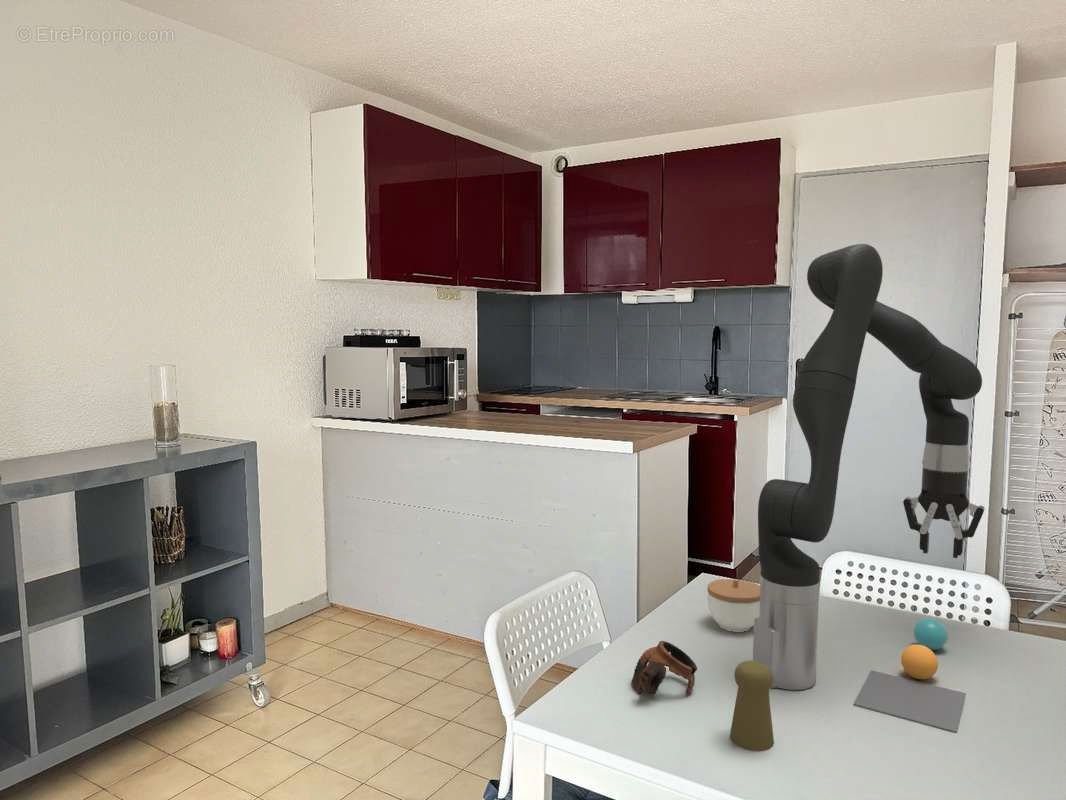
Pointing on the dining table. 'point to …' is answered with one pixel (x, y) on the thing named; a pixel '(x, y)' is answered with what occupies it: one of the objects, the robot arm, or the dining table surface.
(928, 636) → the teal cue ball
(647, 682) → the brown smartwatch
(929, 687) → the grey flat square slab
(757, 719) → the olive pepper mill
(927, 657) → the orange ball
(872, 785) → the dining table surface
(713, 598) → the lidded jar
